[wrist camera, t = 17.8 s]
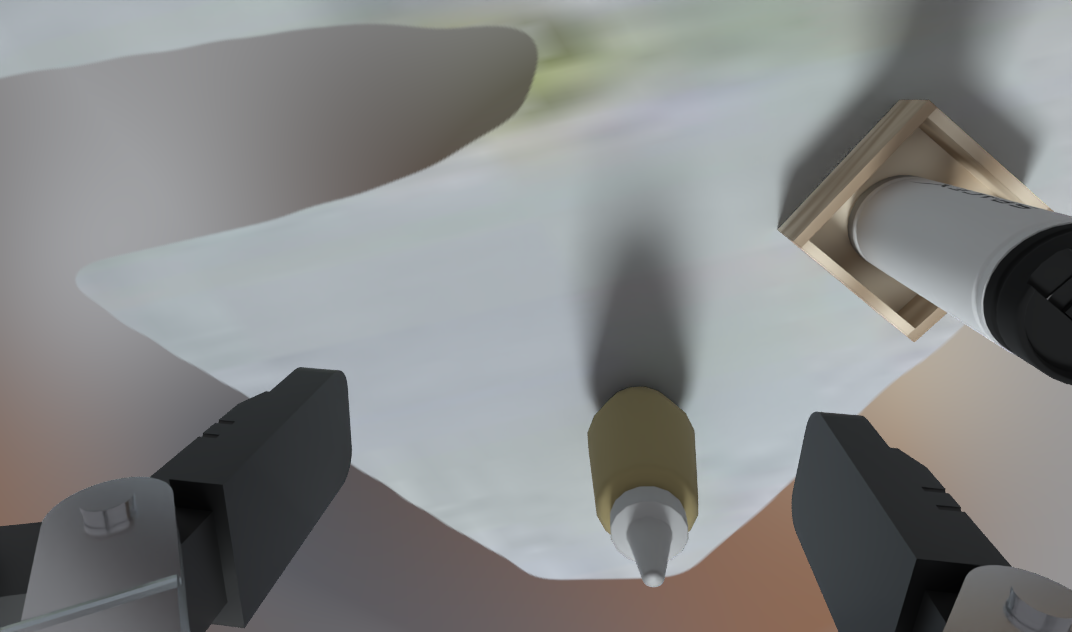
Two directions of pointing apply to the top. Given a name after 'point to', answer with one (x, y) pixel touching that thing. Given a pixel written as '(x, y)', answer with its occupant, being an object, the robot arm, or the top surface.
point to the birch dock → (887, 150)
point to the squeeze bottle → (644, 477)
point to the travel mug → (976, 262)
